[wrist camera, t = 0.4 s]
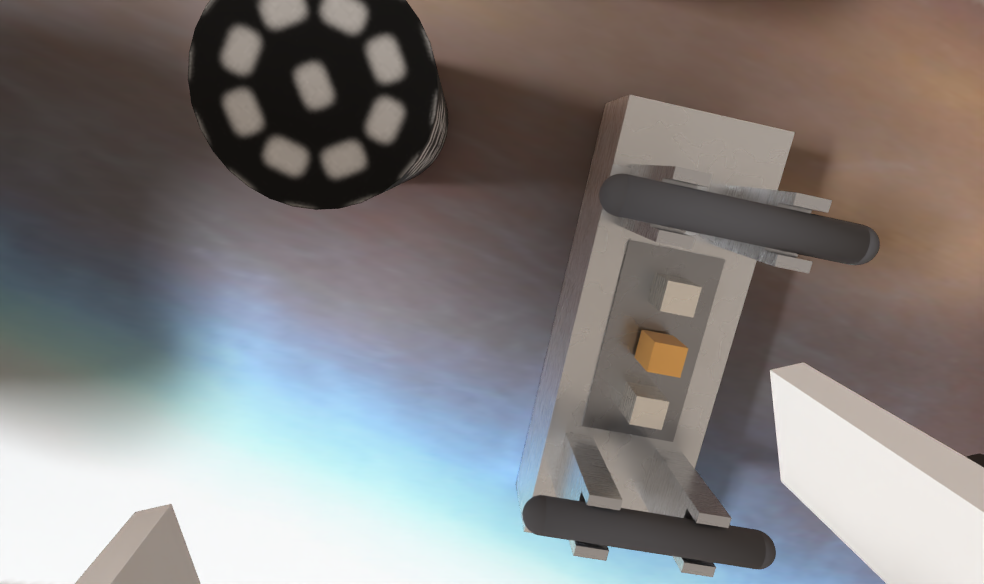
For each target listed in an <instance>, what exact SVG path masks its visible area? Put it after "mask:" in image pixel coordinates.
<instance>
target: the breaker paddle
mask: <svg viewBox="0 0 984 584" xmlns="http://www.w3.org/2000/svg"><path fill="white" fill-rule="evenodd" d="M688 349H689V348H688V347H686V346H685V345H684V344H683V343H682V342H680V341H679V340H678V339H677V338H676V337H674V336H673V335H668V334H663V333H658V332H653V331H647V330H641V334H640V338H639V342H638V345H637V349H636V353H635V357H634V358H635V359H636V360H637V361H638V362H639V363H640V364H641V366H642V367H643V368H644V369H645V370H646V371H647V372H651V373H656V374H662V375H667V376H673V377H678V378H680V377H681V373H682V370H683V366H684V363H685V359H686V356H687V352H688Z"/></svg>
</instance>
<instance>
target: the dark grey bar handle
mask: <svg viewBox="0 0 984 584" xmlns="http://www.w3.org/2000/svg"><path fill="white" fill-rule="evenodd" d="M522 516H523V521H524V524H525V526H526V527H527V529H528V530H529V531H531V532H532V533H534V534H536V535H541V536H547V537H554V538H560V539H567V540H573V541H579V542H586V543H592V544H599V545H605V546H611V547H618V548H624V549H631V550H637V551H643V552H650V553H656V554H663V555H669V556H675V557H682V558H688V559H695V560H701V561H707V562H714V563H720V564H727V565H733V566H739V567H746V568H752V569H764V568H766V567H768V566H770V565H771V564H772V562H773V561H774V559H775V555H776V550H775V546H774V543H773V541H772V540H771V538H770V537H769V536H768V535H766V534H765V533H763V532H761V531H759V530H755V529H748V528H742V527H736V526H730V525H729V528H725V527H719V526H712V525H706V524H700V523H696V522H695V520H693V519H687V518H681V517H675V516H668V515H662V514H656V513H650V512H644V511H638V510H631V509H625V508H621V509H620V510H614V509H608V508H601V507H595V506H589V505H586V502H582V501H576V500H570V499H564V498H558V497H551V496H545V495H537V496H534V497H532V498H531V499H529V500H528V501H527V502H526V504H525V505H524V508H523V512H522Z"/></svg>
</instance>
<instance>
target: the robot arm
mask: <svg viewBox="0 0 984 584" xmlns="http://www.w3.org/2000/svg"><path fill="white" fill-rule="evenodd" d="M770 377H771V387H772V397H773V406H774V416H775V426H776V436H777V446H778V456H779V466H780V476H781V482H782V483H783V484H784V485H785V486H786V487H787V488H788V489H789V490H791V491H792V492H793V493H794V494H795V495H796V496H797V497H798V498H799V499H800V500H801V501H802V502H803V503H804V504H805V505H806V506H807V507H808V508H809V509H810V510H811V511H812V512H813V513H814V514H815V515H816V516H817V517H818V518H819V519H820V520H821V521H822V522H823V523H825V524H826V525H827V526H828V527H829V528H830V529H831V530H832V531H833V532H834V533H835V534H836V535H837V536H838V537H839V538H840V539H841V540H842V541H843V542H844V543H845V544H846V545H847V546H848V547H849V548H850V549H851V550H852V551H853V552H854V553H855V554H856V555H858V556H859V557H860V558H861V559H862V560H863V561H864V562H865V563H866V564H867V565H868V566H869V567H870V568H871V569H872V570H873V571H874V572H875V573H876V574H877V575H878V576H879V577H880V578H881V579H882V580H883V581H884V582H885V583H886V584H984V455H982V454H976V455H971V456H967V457H965V456H963V455H961V454H960V453H958V452H956V451H955V450H953V449H951V448H949V447H948V446H946V445H944V444H943V443H941V442H939V441H937V440H936V439H934V438H932V437H931V436H929V435H927V434H925V433H924V432H922V431H920V430H919V429H917V428H915V427H913V426H912V425H910V424H908V423H907V422H905V421H903V420H901V419H900V418H898V417H896V416H895V415H893V414H891V413H889V412H888V411H886V410H884V409H883V408H881V407H879V406H877V405H876V404H874V403H872V402H871V401H869V400H867V399H865V398H864V397H862V396H860V395H859V394H857V393H855V392H853V391H852V390H850V389H848V388H847V387H845V386H843V385H841V384H840V383H838V382H836V381H834V380H833V379H831V378H829V377H828V376H826V375H824V374H822V373H821V372H819V371H817V370H816V369H814V368H812V367H810V366H809V365H807V364H805V363H804V362H803V363H799V364H794V365H790V366H785V367H781V368H776V369H772V370H770ZM75 584H200V581H199V578H198V576H197V573H196V570H195V567H194V565H193V562H192V559H191V557H190V554H189V551H188V548H187V546H186V543H185V540H184V537H183V535H182V532H181V529H180V526H179V524H178V521H177V518H176V515H175V513H174V510H173V507H172V504H169V505H164V506H160V507H156V508H151V509H147V510H142V511H138V512H135V513H134V514H133V515H132V516H131V518H130V519H129V520H128V521H127V522H126V524H125V525H124V526H123V527H122V528H121V529H120V531H119V532H118V533H117V534H116V535H115V537H114V538H113V539H112V540H111V541H110V543H109V544H108V545H107V546H106V547H105V548H104V550H103V551H102V552H101V553H100V554H99V556H98V557H97V558H96V559H95V560H94V562H93V563H92V564H91V565H90V566H89V567H88V569H87V570H86V571H85V572H84V573H83V575H82V576H81V577H80V578H79V579H78V581H77V582H76V583H75Z"/></svg>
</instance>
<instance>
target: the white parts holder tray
mask: <svg viewBox="0 0 984 584" xmlns="http://www.w3.org/2000/svg"><path fill="white" fill-rule="evenodd" d="M794 134H795V132H792V131H788V130H783V129H779V128H774V127H770V126H766V125H761V124H757V123H753V122H748V121H744V120H739V119H735V118H731V117H726V116H722V115H717V114H713V113H709V112H704V111H700V110H695V109H691V108H687V107H682V106H678V105H673V104H669V103H665V102H660V101H656V100H651V99H647V98H643V97H638V96H634V95H627V96H625V97H622V98H619V99H616V100H613V101H611V102H608V103H605V107H604V112H603V116H602V120H601V124H600V129H599V133H598V137H597V141H596V146H595V150H594V154H593V158H592V163H591V167H590V171H589V175H588V180H587V184H586V188H585V192H584V197H583V201H582V205H581V209H580V214H579V218H578V222H577V226H576V231H575V235H574V239H573V243H572V248H571V252H570V256H569V260H568V265H567V269H566V273H565V277H564V282H563V286H562V290H561V294H560V298H559V303H558V307H557V311H556V315H555V320H554V324H553V328H552V332H551V337H550V341H549V345H548V349H547V354H546V358H545V362H544V366H543V371H542V375H541V379H540V383H539V388H538V392H537V396H536V400H535V405H534V409H533V413H532V417H531V422H530V426H529V430H528V434H527V439H526V443H525V447H524V451H523V456H522V460H521V464H520V468H519V473H518V477H517V481H516V489H517V494H518V500H519V506H520V512H521V518H522V523H523V529H524V532H530V533H532V532H531V531H529V530H528V529H527V527H526V526H525V524H524V521H523V516H522V512H523V508H524V505H525V504H526V502H527V501H528V500H529V499H531V498H532V497H534V496H537V495H545V496H551V497H558V498H564V499H570V500H576V501H582V502H586V505H589V506H595V507H601V508H608V509H614V510H620V509H621V508H625V509H631V510H638V511H644V512H650V513H656V514H662V515H668V516H675V517H681V518H687V519H693V520H695V522H696V523H700V524H706V525H712V526H719V527H725V528H729V525H730V521H731V517H730V515H729V514H728V513H727V511H726V510H725V509H724V507H723V506H722V505H721V503H720V502H719V501H718V499H717V498H716V497H715V495H714V494H713V493H712V491H711V490H710V489H709V487H708V486H707V485H706V483H705V482H704V481H703V479H702V478H701V477H700V475H699V474H698V473H697V471H696V470H695V466H696V463H697V459H698V456H699V452H700V449H701V446H702V442H703V439H704V436H705V432H706V429H707V426H708V422H709V419H710V416H711V412H712V409H713V405H714V402H715V399H716V395H717V392H718V389H719V385H720V382H721V379H722V375H723V372H724V369H725V365H726V362H727V358H728V355H729V352H730V348H731V345H732V342H733V338H734V335H735V332H736V328H737V325H738V322H739V318H740V315H741V311H742V308H743V305H744V301H745V298H746V295H747V291H748V288H749V285H750V281H751V278H752V275H753V271H754V268H755V265H756V261H760V262H763V263H766V264H769V265H772V266H774V267H779V268H784V269H789V270H794V271H799V272H804V273H809V272H810V269H811V266H812V261H809V260H806V259H802V258H799V257H798V254H796V253H791V252H786V251H782V250H777V249H772V248H767V247H762V246H758V245H753V244H748V243H743V242H738V241H734V240H729V239H724V238H719V237H714V236H710V235H705V234H700V233H695V232H690V231H686V230H681V229H676V228H671V227H666V226H661V225H657V224H652V223H647V222H642V221H637V220H633V219H628V218H623V217H618V216H614V215H611V214H609V213H608V212H607V211H605V210H604V208H603V207H602V205H601V203H600V200H599V191H600V188H601V186H602V184H603V183H604V181H605V180H606V179H607V178H609V177H610V176H612V175H615V174H621V173H622V174H629V175H633V176H638V177H643V178H647V179H652V180H656V181H661V182H666V183H670V184H675V185H680V186H684V187H689V188H694V189H698V190H703V191H708V192H712V193H717V194H722V195H726V196H731V197H736V198H740V199H745V200H749V201H754V202H759V203H763V204H768V205H773V206H777V207H782V208H787V209H791V210H796V211H801V212H805V213H810V214H811V212H812V210H813V211H820V212H826V213H828V212H829V209H830V206H831V202H832V200H828V199H824V198H819V197H815V196H810V195H805V194H801V193H796V192H787V191H778V187H779V184H780V181H781V177H782V174H783V171H784V167H785V164H786V160H787V157H788V154H789V150H790V147H791V144H792V140H793V137H794ZM641 330H647V331H653V332H658V333H663V334H668V335H673V336H674V337H676V338H677V339H678V340H679V341H680V342H682V343H683V344H684V345H685V346H686V347H688V348H689V349H688V352H687V356H686V359H685V363H684V366H683V370H682V373H681V377H680V378H678V377H673V376H667V375H662V374H656V373H651V372H647V371H646V370H645V369H644V368H643V367H642V366H641V364H640V363H639V362H638V361H637V360H636V359H635V358H634V357H635V353H636V349H637V345H638V342H639V338H640V334H641ZM569 542H570V545H571V549H572V552H573V556H579V557H585V558H592V559H598V560H605V561H606V559H607V556H608V552H609V550H608V547H607V546H605V545H599V544H592V543H586V542H579V541H573V540H569ZM673 558H674V560H675V562H676V563H677V565H678V567H679V569H680V571H681V572H683V573H689V574H696V575H702V576H709V577H713V575H714V572H715V569H716V567H715V565H714V564H713V562H707V561H701V560H695V559H688V558H682V557H675V556H673Z"/></svg>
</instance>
